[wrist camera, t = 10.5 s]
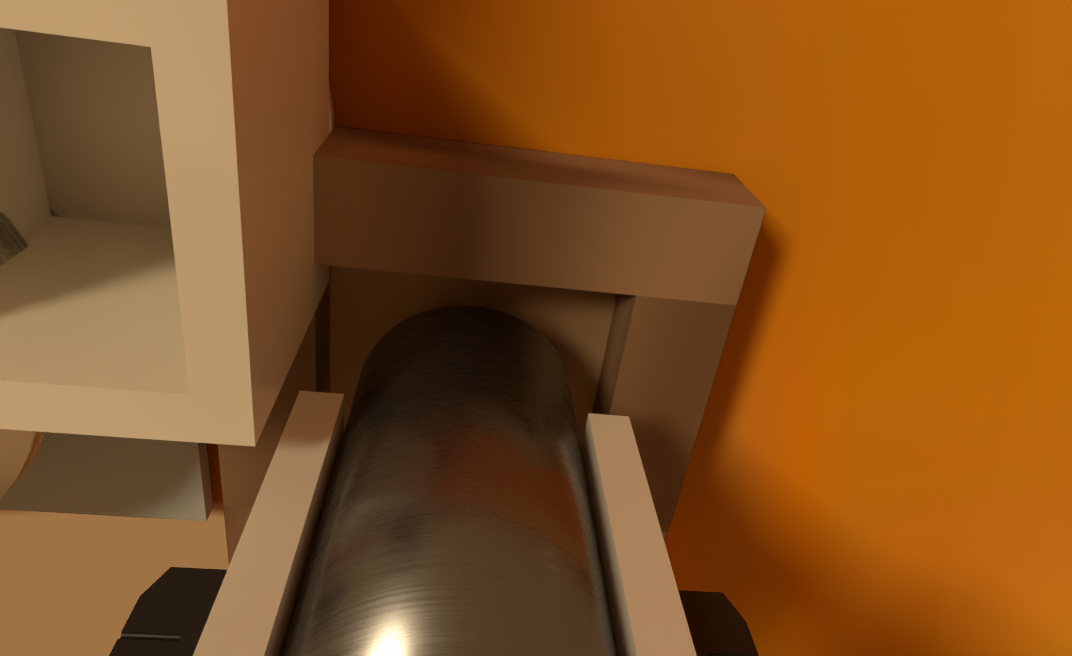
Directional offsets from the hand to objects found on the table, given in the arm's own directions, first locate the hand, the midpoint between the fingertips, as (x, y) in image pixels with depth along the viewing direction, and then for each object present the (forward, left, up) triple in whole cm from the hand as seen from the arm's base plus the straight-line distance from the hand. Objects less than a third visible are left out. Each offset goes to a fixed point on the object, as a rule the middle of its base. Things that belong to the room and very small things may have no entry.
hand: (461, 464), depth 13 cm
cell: (0, 0, -2) cm, 2 cm away
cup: (-6, +5, -4) cm, 9 cm away
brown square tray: (0, 0, -4) cm, 4 cm away
